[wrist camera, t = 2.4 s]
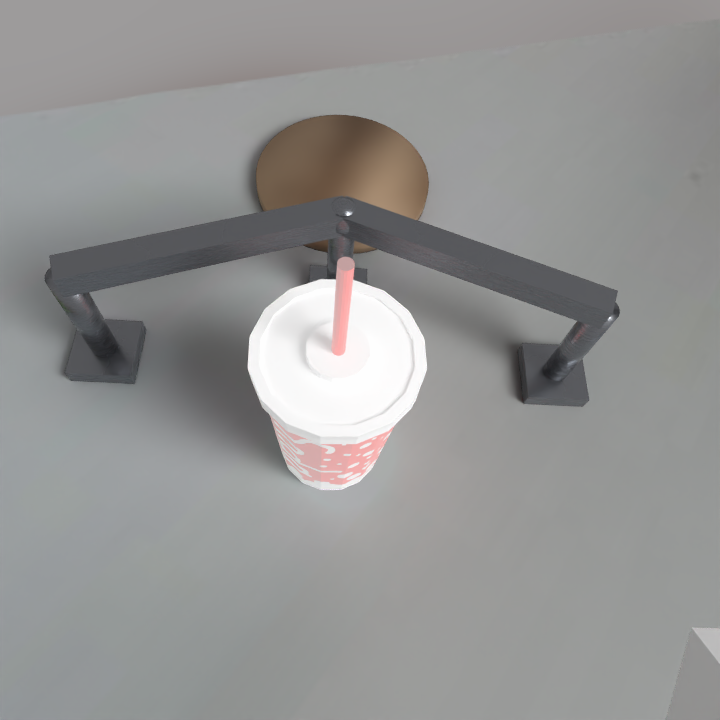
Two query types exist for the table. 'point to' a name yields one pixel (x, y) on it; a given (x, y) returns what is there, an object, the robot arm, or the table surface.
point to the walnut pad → (342, 168)
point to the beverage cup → (335, 375)
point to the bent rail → (341, 228)
